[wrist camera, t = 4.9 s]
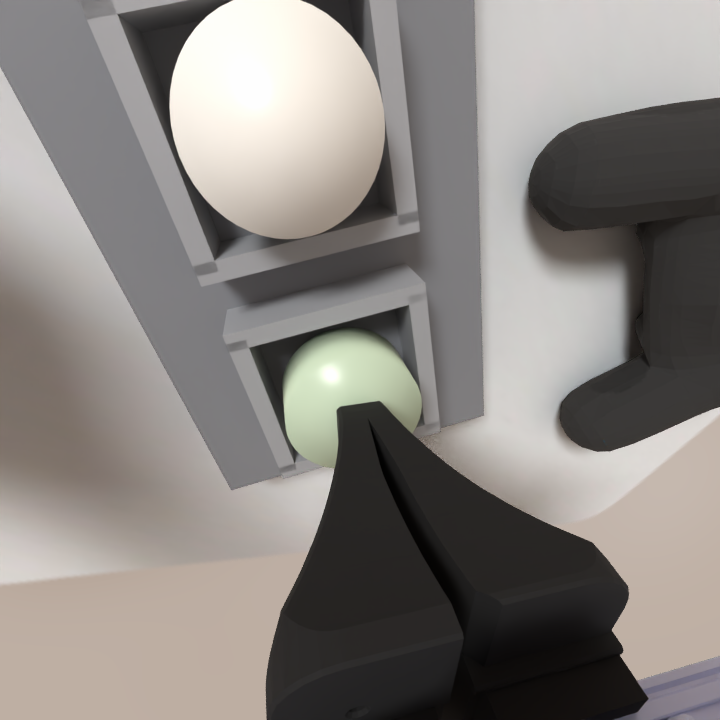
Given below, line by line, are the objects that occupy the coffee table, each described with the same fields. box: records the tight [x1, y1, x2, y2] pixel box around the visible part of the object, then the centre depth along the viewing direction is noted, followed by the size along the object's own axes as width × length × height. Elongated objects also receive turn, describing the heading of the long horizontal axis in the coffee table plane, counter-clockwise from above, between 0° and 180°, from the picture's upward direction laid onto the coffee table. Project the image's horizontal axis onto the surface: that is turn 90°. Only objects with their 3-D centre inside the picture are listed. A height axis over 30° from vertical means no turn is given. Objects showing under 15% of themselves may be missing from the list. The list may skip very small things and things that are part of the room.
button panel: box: [0, 0, 484, 490], centre depth 12 cm, size 12×26×4 cm, turn 11°
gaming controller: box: [529, 98, 720, 452], centre depth 18 cm, size 17×6×10 cm
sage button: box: [282, 327, 422, 468], centre depth 14 cm, size 4×4×2 cm
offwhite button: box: [169, 0, 385, 239], centre depth 9 cm, size 4×4×2 cm
